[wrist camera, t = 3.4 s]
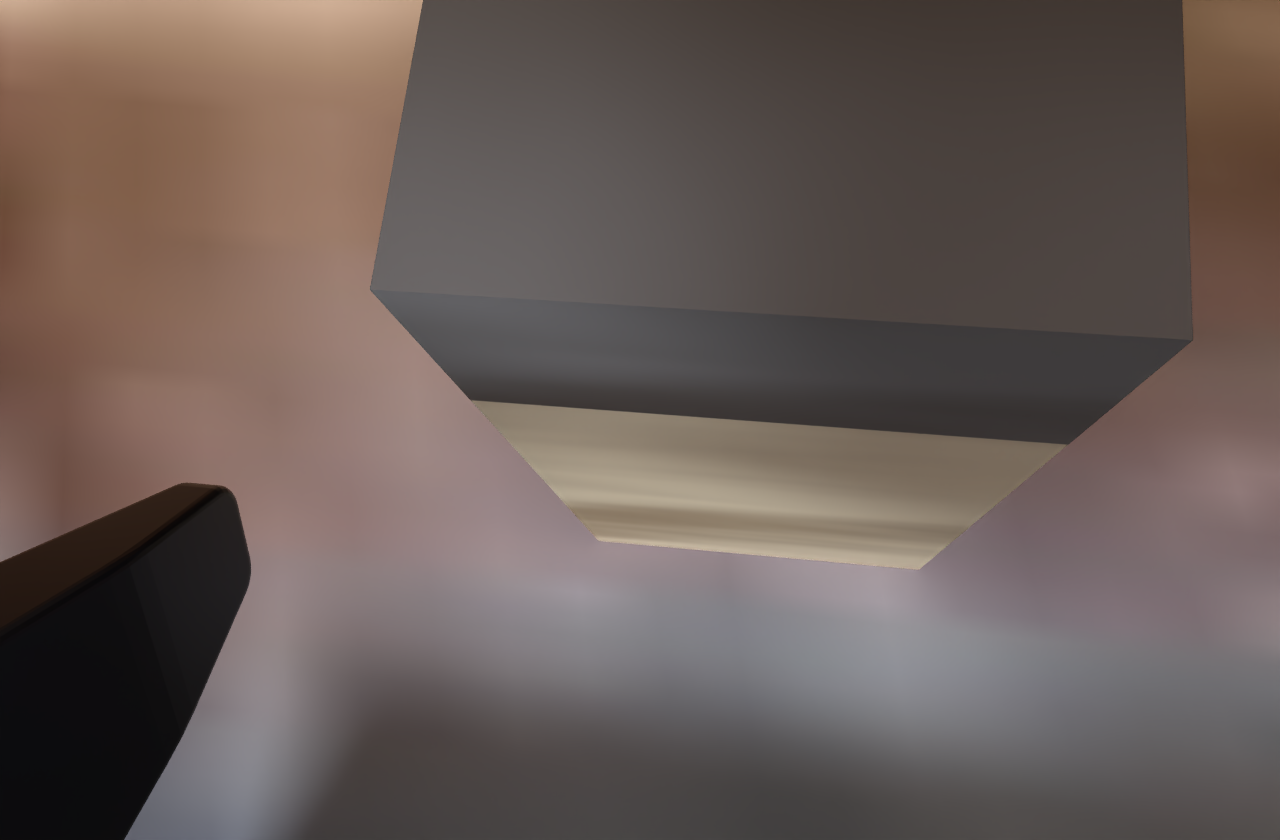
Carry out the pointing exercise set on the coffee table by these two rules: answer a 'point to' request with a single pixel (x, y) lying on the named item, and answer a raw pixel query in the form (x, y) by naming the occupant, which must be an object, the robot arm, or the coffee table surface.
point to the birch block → (792, 251)
